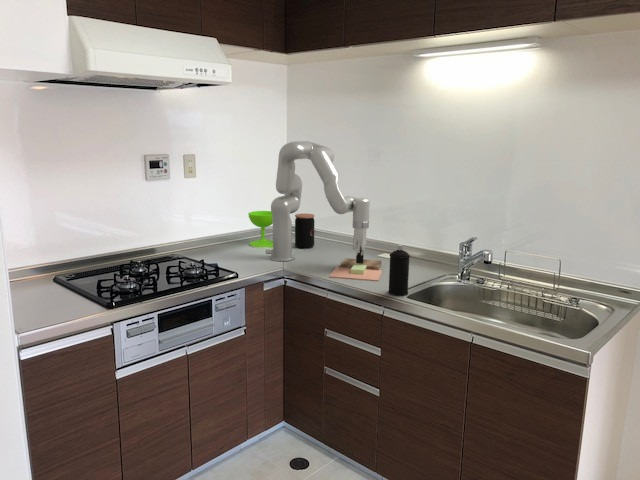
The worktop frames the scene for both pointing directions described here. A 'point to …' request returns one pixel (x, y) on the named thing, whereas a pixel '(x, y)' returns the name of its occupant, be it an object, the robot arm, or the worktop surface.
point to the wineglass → (262, 221)
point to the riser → (370, 263)
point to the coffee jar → (304, 231)
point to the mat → (346, 274)
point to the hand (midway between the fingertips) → (359, 262)
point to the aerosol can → (399, 272)
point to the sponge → (358, 269)
